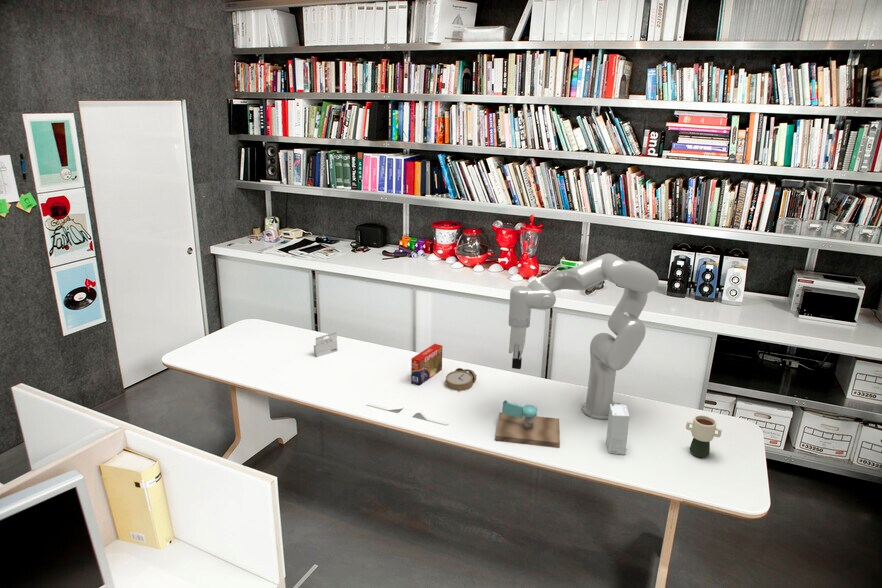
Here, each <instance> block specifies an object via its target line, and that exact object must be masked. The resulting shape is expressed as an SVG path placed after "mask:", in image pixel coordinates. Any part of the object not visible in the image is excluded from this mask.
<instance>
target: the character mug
mask: <svg viewBox="0 0 882 588" xmlns="http://www.w3.org/2000/svg"><path fill="white" fill-rule="evenodd" d="M717 424H718V423H717V421H716V419H714V418H713V417H711V416H709V415H705V414H698V415H695V416H694V417H693V420H692V421H689V420H687V421H686V425H685V429H686V430H687V431H690V432H691V435H692V437H693V438H692V439H691V440H692V441H691V442H690V446H689V452H690V453H691V454H692V455H694V456H696V457H699V458H706V457H708V456H709V455H710V452H711V451H710V450H711V445H710V444H711V441H713V439H714V438H715V437H716V438H720V437H722V432H723V429H722V428H720V427H717ZM690 425H692V426H691V427H690ZM716 431H717V433H716Z"/></svg>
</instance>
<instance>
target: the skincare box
mask: <svg viewBox="0 0 882 588" xmlns="http://www.w3.org/2000/svg"><path fill="white" fill-rule="evenodd" d="M629 423H630V413H629V410H628V406H627V405H626V404H620V405H616V404H610V407H609V418H608V419H607V429H606V439H605V440H606V445H607V446H606V448H607V451H608V454H615V455H616V454H617V455H623V456H624V455H625V456H626V452H627V445H628V444H627V443H628V442H627V441H628V432H629Z"/></svg>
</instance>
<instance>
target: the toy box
mask: <svg viewBox="0 0 882 588" xmlns="http://www.w3.org/2000/svg"><path fill="white" fill-rule="evenodd" d="M410 360H411V363H410V364H411V368H410V369H411V373H410V374H411V375H410V376H411V377H410V379H411V381H410V384H412V385H414V386H418V387H421V385H424V384H425V382H427V381H428V380H430V379H431V378H433V377H434V376H435V375H437V374H438V373H439V372H441V371H442V370H443V345H441V344H439V343H433V344H432V345H430V346H429V347H427V348H426V349H424V350H422V351H420V352H419V353H418V354H416V355H415V356H413V357H412V358H411V359H410Z"/></svg>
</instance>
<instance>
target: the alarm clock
mask: <svg viewBox="0 0 882 588" xmlns="http://www.w3.org/2000/svg"><path fill="white" fill-rule="evenodd" d="M476 380H477V374H476V372H475V371H474V370H472V369H468V368H467V369H465V368H461V367H457V368H456V369H455V370H454V371H451V372H448V373H447V375H446V376H445V383H444V386H446V387H447V388H448V389H451V390H453V391H458V392H459V391H460V392H461V391H462V392H463V391H467V390H470V389H471V388H472V387H473V384H474V382H476Z"/></svg>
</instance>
